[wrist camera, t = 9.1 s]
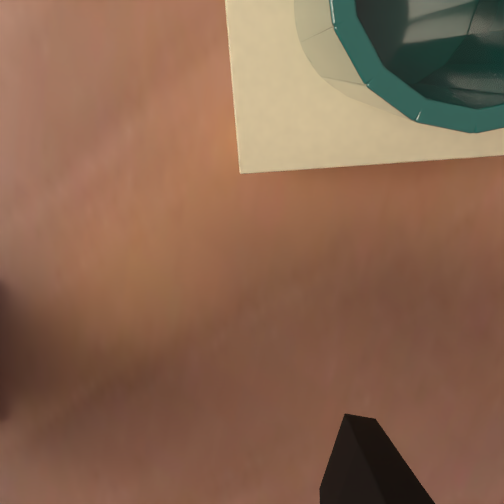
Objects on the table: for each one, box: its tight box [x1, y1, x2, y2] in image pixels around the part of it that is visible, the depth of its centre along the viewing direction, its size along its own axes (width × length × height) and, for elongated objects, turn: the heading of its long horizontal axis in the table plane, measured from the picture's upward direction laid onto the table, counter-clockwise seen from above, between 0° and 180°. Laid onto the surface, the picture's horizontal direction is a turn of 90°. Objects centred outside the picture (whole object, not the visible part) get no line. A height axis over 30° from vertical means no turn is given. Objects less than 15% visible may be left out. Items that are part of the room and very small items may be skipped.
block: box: [225, 0, 504, 174], centre depth 14 cm, size 9×9×3 cm
